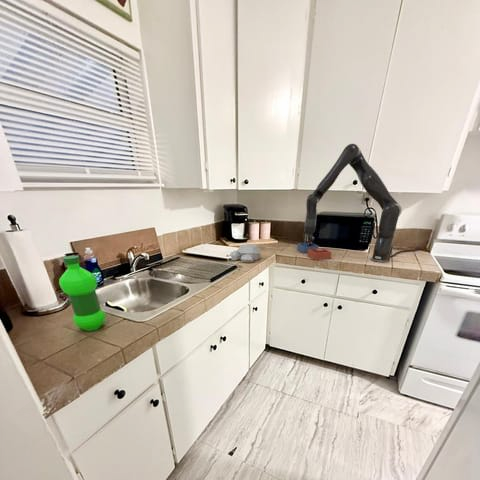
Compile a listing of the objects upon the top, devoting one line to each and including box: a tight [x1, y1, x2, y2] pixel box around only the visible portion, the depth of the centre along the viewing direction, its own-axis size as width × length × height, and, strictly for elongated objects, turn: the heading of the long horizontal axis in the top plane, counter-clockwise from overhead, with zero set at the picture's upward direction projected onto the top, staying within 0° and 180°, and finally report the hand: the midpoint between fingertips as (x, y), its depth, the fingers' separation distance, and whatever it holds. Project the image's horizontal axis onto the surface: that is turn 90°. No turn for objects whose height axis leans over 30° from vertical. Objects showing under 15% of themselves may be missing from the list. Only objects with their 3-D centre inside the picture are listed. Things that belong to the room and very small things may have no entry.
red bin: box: [306, 247, 332, 261], centre depth 172 cm, size 11×11×4 cm
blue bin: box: [296, 242, 319, 254], centre depth 188 cm, size 11×11×4 cm
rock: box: [228, 243, 262, 263], centre depth 168 cm, size 18×20×10 cm
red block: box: [315, 249, 324, 253], centre depth 172 cm, size 4×4×4 cm
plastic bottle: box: [58, 254, 107, 332], centre depth 86 cm, size 10×10×25 cm
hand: (307, 249), depth 189 cm, fingers closed on blue block, 4 cm apart
